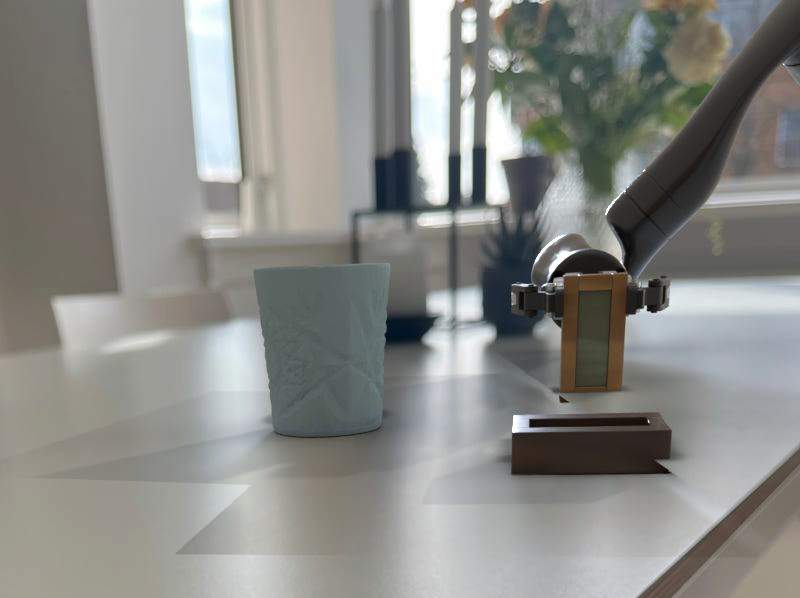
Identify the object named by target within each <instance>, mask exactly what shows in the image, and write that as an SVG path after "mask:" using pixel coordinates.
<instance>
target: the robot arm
mask: <svg viewBox="0 0 800 598" xmlns="http://www.w3.org/2000/svg"><path fill="white" fill-rule="evenodd" d="M781 66H783V67H784V68H785V69H786V70H787V72H788V73H789V74H790V75H791V77H792V78H793V79H794V81H795V82H796V83H797V84H798V86H800V0H779V1H778V2H777V3H776V5H775V6H774V7H773V8H772V9H771V11H769V13H768V14H767V16H766V17H765V18H764V19H763V20H762V22H761V23H760V25H759V26H758V27H757V29H756V30H755V31H754V32H753V34H752V35H751V36H750V37H749V39H748V40H747V41H746V43H745V44H744V45H743V47H742V48H741V49H740V51H739V52H738V53H737V54H736V55H735V57H734V59H732V61H731V62H730V63H729V64H728V66H727V67H726V69H725V70H724V71H723V73H722V74H721V75H720V77H718V79H717V81H715V83H714V85H713V86H712V87H711V89H710V90H709V92H708V93H707V94H706V96H705V97H704V98H703V99H702V101H701V102H700V103H699V105H698V106H697V108H696V109H695V110H694V112H693V113H692V114H691V116H689V118H688V119H687V121H685V123H684V125H682V127H681V128H680V130H678V132H677V133H676V134H675V136H674V137H672V139H671V140H670V141H669V143H668V144H666V146H665V147H663V149H662V150H661V151H660V152H659V153H658V154H657V156H655V158H654V159H653V160H652V161H651V162H649V164H648V165H647V166H646V167H645V168H644V169H643V170H642V171H641V172H640V173H638V175H637V176H636V178H634V179H633V180H632V181H631V183H629V184H628V185H627V187H626V188H625V189H624V190H623V191H622V192H621V193H620V194H619V195H617V197H616V198H615V199H614V200H613V201H612V202H611V204H610V205H609V206H608V207H607V209H606V212H605V220H606V223H607V226H608V227H609V229H610V231H611V232H612V233H613V234H612V235H614V237H615V239H616V240H617V242H618V245H619V246H620V249H621V259H620V260H619V259H618V258H617V256H616V257H615V256H614V255H613V254H611V253H609V252H607V251H604V250H600V249H598V248H597V249H596V248H594V246H593V245H591V243H590V242H589V241H588V240H587V239H586V238H585V237H584V236H583V235H581V234H579V233H573V232H572V233H571V232H570V233H566V234H563V235H561V236H558V237H556V238H555V239H553V240H552V241H550V242H549V243H548V244H547V245H546V246H545V247H544V248H543V249H542V250H541V251H540V253H539V254H538V255H537V257H536V259H535V260H534V263H533V265H532V268H531V272H530V280H531V283H522V282H521V281H517V282H515V283H513V284H511V295H510V296H511V298H510V300H511V301H510V302H511V306H510V308H511V309H510V310H511V311H510V313H511V314H514V315H517V316H521V317H527V319H533V318H534V317H537V316H539V315H538V313H539V311H544V317H548V318H551V320H552V322H553V323H554V324H555V325H556V326H557V327H558V328H559V329H561V323H562V317H563V316H564V288H563V275H576V274H577V275H579V274H599V273H622V272H626V273H628V285H627V298H626V318H628V317H629V316H635V315H637V313H639V314H640V312H641V310H644V309H645V307H646V312H649V313H651V314H658V312H662V311H664V310H666V309H667V308H669V307H670V292H671V281H672V280H671V279H672V278H671V276H668V275H660V277H655V278H649V279H648V281H647V286H642V284H643V283H642V281H641V280H638V279H639V277H640V276H641V274H642V273H643V271H644V270H645V268H646V267H647V265H648V264H649V263H650V262H651V261H652V260H653V258H654V257H655V255H657V253H658V252H659V251H660V250H661V249H662V248H663V247H664V246H665V245H666V244H667V243H668V242H669V239H670V240H671V239H672V238H673V237H674V236H675V235H676V234H677V233H678V232H679V231H680V230H681V229H682V228H683V227H684V226H685V225H686V224H687V223H688V222H689V221H690V220H691V219H692V218H693V217H694V216H695V215H696V214H697V213H698V212H699V211H700V210H701V209H702V207H704V205H705V204H706V203H707V202H708V200H709V199H710V198H711V196H712V194H713V193H714V192H715V190H716V188H717V186H718V184H719V183H720V181H721V178H722V176H723V174H724V172H725V169H726V166H727V165H728V161H729V159H730V157H731V153H732V151H733V148H734V146H735V142H736V140H737V137H738V135H739V132H740V130H741V127H742V124H743V123H744V120H745V118H746V116H747V114H748V112H749V109H750V107H751V106H752V103H753V102H754V101H755V99H756V97H757V96H758V94H759V92H760V91H761V89H762V88H763V87H764V85H766V83H767V82H768V80H769V79H770V78H771V76H772V75H773V74H774V73H775V72H776V71H777V70H778V69H779V68H780V67H781ZM667 276H668V277H667Z"/></svg>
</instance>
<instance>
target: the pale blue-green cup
mask: <svg viewBox="0 0 800 598" xmlns="http://www.w3.org/2000/svg"><path fill="white" fill-rule="evenodd" d="M252 272H253V280H254V287H255V293H256V300H257V305H258V308H259V309H258V310H259V321H260V329H261V335H262V337H263V338H262V339H263V347H264V360H265V368H266V373H267V378H268V380H269V381H268V390H269V400H270V407H271V408H270V409H271V419H272V420H271V421H272V427H273V430H274V432H275V433H276V434H278V435H283V436H289V437H290V436H291V437H299V438H300V437H301V438H302V437H303V438H305V437H306V438H323V437H325V438H326V437H338V436H349V435H356V434H362V433H367V432H370V431H371V432H372V431H374V430H377V429H379V428H381V425H382V423H383V411H384V410H383V409H384V408H383V407H384V406H383V405H384V404H383V397H384V389H385V387H384V385H385V379H384V374H385V367H384V364H385V357H386V356H385V346H386V342H387V341H386V339H387V338H386V336H385V334H386V333H387V323H386V321H387V320H388V311H387V307H388V304H389V303H388V302H389V293H390V280H391V279H390V278H391V263H390V262H367V263H366V262H364V263H362V262H361V263H342V264H341V263H340V264H339V263H337V264H317V265H292V266H291V265H290V266H272V267H271V266H269V267H257V268H254V269H253V271H252Z"/></svg>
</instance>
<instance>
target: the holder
mask: <svg viewBox="0 0 800 598" xmlns="http://www.w3.org/2000/svg"><path fill="white" fill-rule="evenodd" d="M511 429H512V430H511V458H510V459H511V461H510V463H511V466H510V467H511V469H510V474H511V475H584V474H585V475H589V474H591V475H592V474H593V475H594V474H595V475H597V474H599V475H600V474H601V475H602V474H668V473H670V470H669V468H667V467H665V466H664V465H662V464H661V463H660V462H658V461H657V460H670V459H671V450H672V449H671V448H672V439H673V438H672V435H673V430H672V428H671V426H670V425H669V424H668V423H667V422H666V420H665V419H664V417H663V415H662V414H661V413H660V412H659V411H653V412H651V411H650V412H645V411H644V412H603V413H599V412H598V413H597V412H595V413H553V414H552V413H551V414H514V415H513V419H512V427H511Z"/></svg>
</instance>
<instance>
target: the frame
mask: <svg viewBox="0 0 800 598" xmlns="http://www.w3.org/2000/svg"><path fill="white" fill-rule="evenodd" d="M627 285H628V273H626V272H622V273H599V274H579V275H577V274H576V275H563V288H564V316H563V317H562V323H561V328H560V329H561V330H560V352H559V353H560V357H559V358H560V359H559V381H558V382H559V383H558V384H559V386H558V390H559V393H592V392H596V393H597V392H622V391H623V375H624V374H623V373H624V360H625V344H626V343H625V341H626V340H625V339H626V324H627V317H626V298H627ZM558 401H559V403H569V402H570V401H569V400H568V399H566V398H564V397H563V396H562V395H560V394H559V395H558Z"/></svg>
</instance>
